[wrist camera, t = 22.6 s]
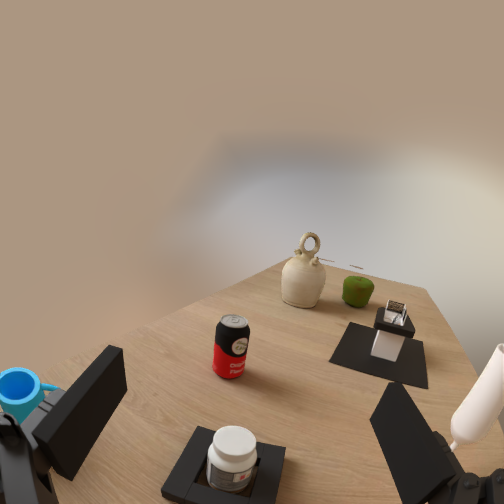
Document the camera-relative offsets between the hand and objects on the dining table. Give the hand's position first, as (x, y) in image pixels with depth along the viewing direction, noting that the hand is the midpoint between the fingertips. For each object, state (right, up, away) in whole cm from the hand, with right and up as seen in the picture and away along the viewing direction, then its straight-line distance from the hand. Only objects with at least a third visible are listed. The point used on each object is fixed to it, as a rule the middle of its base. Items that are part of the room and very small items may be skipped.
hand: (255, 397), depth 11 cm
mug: (-32, -19, +14) cm, 40 cm away
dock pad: (-3, -23, +15) cm, 27 cm away
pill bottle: (-3, -23, +15) cm, 28 cm away
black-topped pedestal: (+36, -21, +54) cm, 68 cm away
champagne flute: (+26, -28, +12) cm, 40 cm away
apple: (+39, -14, +89) cm, 98 cm away
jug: (+17, -11, +85) cm, 88 cm away
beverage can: (-5, -17, +40) cm, 44 cm away
